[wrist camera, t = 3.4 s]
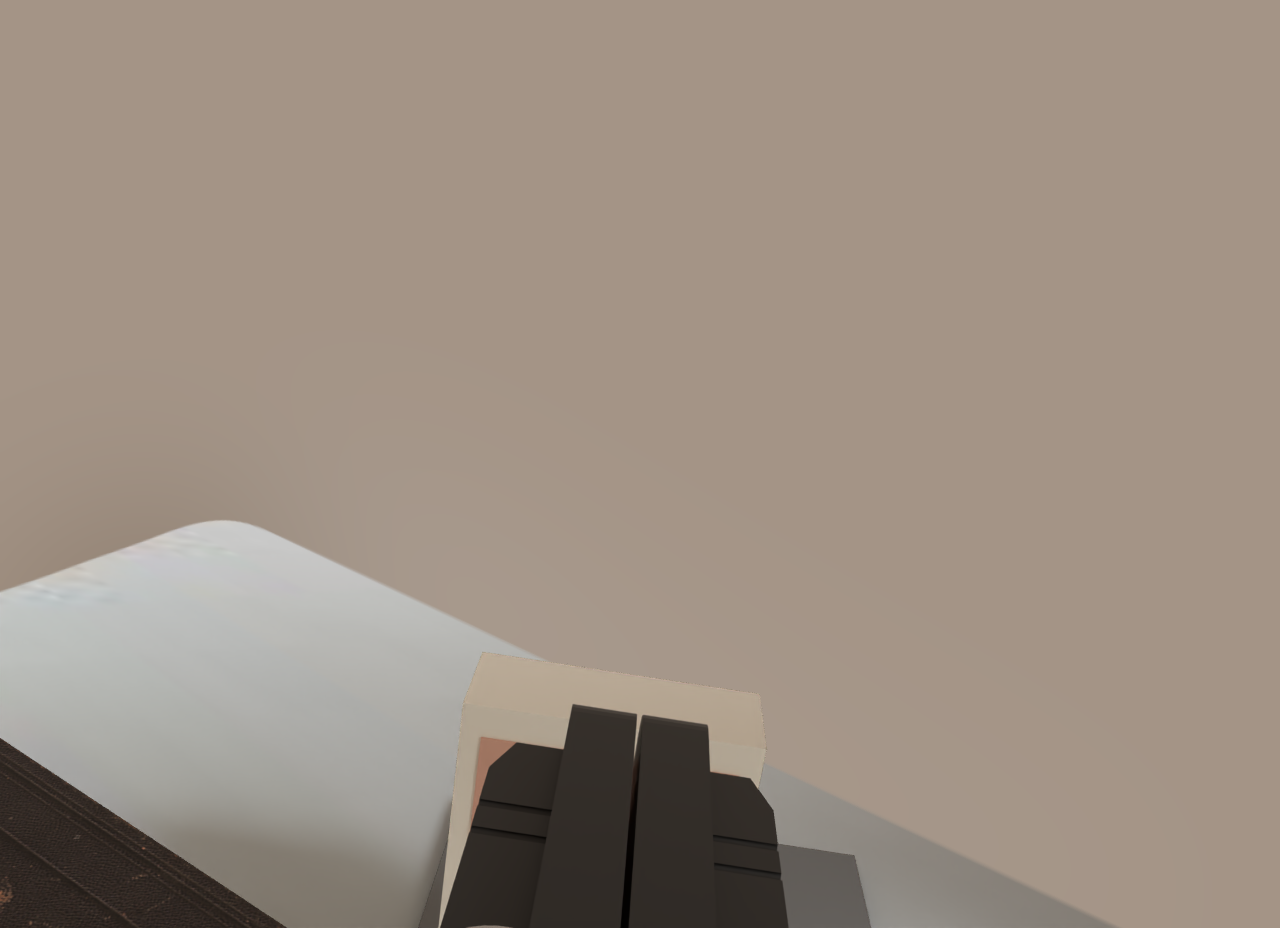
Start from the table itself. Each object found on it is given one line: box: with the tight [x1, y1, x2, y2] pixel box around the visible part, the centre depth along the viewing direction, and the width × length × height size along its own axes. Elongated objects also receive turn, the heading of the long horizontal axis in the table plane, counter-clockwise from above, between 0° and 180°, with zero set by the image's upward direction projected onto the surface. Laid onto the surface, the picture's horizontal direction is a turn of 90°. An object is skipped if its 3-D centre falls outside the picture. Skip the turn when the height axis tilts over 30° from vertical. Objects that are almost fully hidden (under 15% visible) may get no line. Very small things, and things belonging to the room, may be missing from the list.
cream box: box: [438, 652, 767, 928], centre depth 28 cm, size 7×2×12 cm, turn 87°
